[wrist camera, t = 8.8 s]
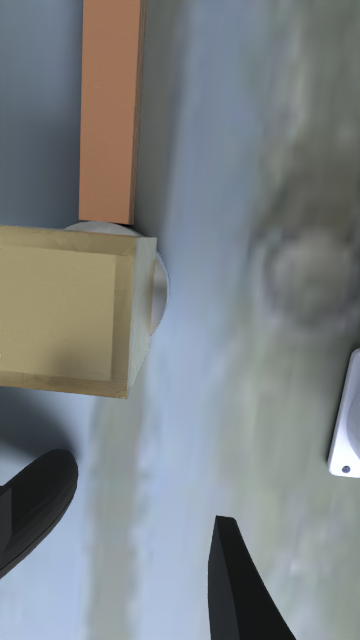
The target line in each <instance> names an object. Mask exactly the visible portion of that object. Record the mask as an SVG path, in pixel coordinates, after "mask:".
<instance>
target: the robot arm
mask: <svg viewBox="0 0 360 640" xmlns="http://www.w3.org/2000/svg"><path fill="white" fill-rule="evenodd" d="M344 466H347V468H345V469H342V467H344ZM327 467H328V469H329V471H330V473H332V474H333V475H338V476H347V477H356V478H360V349H356V350H355V351H354V352H353V353H352V355H351V358H350V362H349V367H348V372H347V376H346V381H345V385H344V390H343V394H342V399H341V403H340V408H339V412H338V417H337V422H336V426H335V431H334V435H333V440H332V444H331V449H330V453H329V458H328V462H327ZM11 535H12V514H11V487H6V486H0V558H1V556H2V554H3V552H4V550H5V548H6V546H7V544H8V542H9V540H10V537H11ZM208 608H209V621H210V633H211V640H296V638H295V637H294V635H293V634H292V632H291V631H290V629H289V627H288V626H287V624H286V622H285V621H284V619H283V617H282V616H281V614H280V612H279V611H278V609H277V607H276V605H275V603H274V602H273V600H272V598H271V596H270V594H269V593H268V591H267V589H266V587H265V585H264V583H263V581H262V579H261V577H260V575H259V573H258V571H257V569H256V567H255V565H254V563H253V561H252V559H251V556H250V554H249V552H248V550H247V547H246V545H245V543H244V540H243V538H242V535H241V533H240V530H239V528H238V525H237V522H236V520H235V519H234V518H231V517H224V516H217V515H216V518H215V524H214V530H213V536H212V543H211V549H210V555H209V561H208Z"/></svg>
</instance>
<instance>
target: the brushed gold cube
mask: <svg viewBox="0 0 360 640" xmlns="http://www.w3.org/2000/svg"><path fill="white" fill-rule="evenodd" d="M156 245H157V238H156V237H145V236H134V235H123V234H112V233H101V232H90V231H79V230H67V229H56V228H45V227H31V226H15V225H0V386H8V387H17V388H27V389H36V390H46V391H56V392H65V393H75V394H84V395H94V396H104V397H113V398H123V399H127V397H128V394H129V392H130V390H131V387H132V385H133V383H134V381H135V378H136V376H137V374H138V372H139V369H140V367H141V365H142V363H143V360H144V358H145V356H146V354H147V351H148V349H149V346H150V331H151V317H152V303H153V288H154V274H155V260H156Z"/></svg>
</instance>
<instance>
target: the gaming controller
mask: <svg viewBox="0 0 360 640" xmlns="http://www.w3.org/2000/svg"><path fill="white" fill-rule="evenodd" d="M77 480H78V466H77V463H76V461H75V459H74V457H73V456H72V455H71V454H70V453H69V452H66V451H64V450H59V449H56V450H52V451H50V452H48V453H46V454H44V455H43V456H41V457H39V458H37V459H36V460H34V461H33V462H32V463H30V464H29V465H28V466H26V467H25V468H24V469H23V470H21V471H20V472H19V473H18V474H17V475H15V476H14V477H13V478H12V479H11V480H9V481H8V482H7V483H6V484H5V485H3V486H6V487H11V514H12V535H11V537H10V540H9V542H8V544H7V546H6V548H5V550H4V552H3V554H2V556H1V558H0V579H1V578H2V577H4V576H5V575H6V574H7V573H8V572H9V571H10V570H12V569H13V568H14V567H15V566H16V565H17V564H18V563H20V562H21V561H22V560H23V559H24V558H25V557H26V556H27V555H29V554H30V553H31V552H32V551H33V550H34V549H35V548H36V547H37V546H38V545H39V543H40V542H41V541H42V540H43V539H44V538H45V537H46V536H47V535H48V534H49V533H50V532H51V531H52V530H53V528H54V527H55V526H56V525H57V523H58V522H59V521H60V520H61V518H62V517H63V515H64V514H65V512H66V510H67V509H68V507H69V505H70V503H71V501H72V499H73V497H74V494H75V491H76V488H77Z"/></svg>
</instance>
